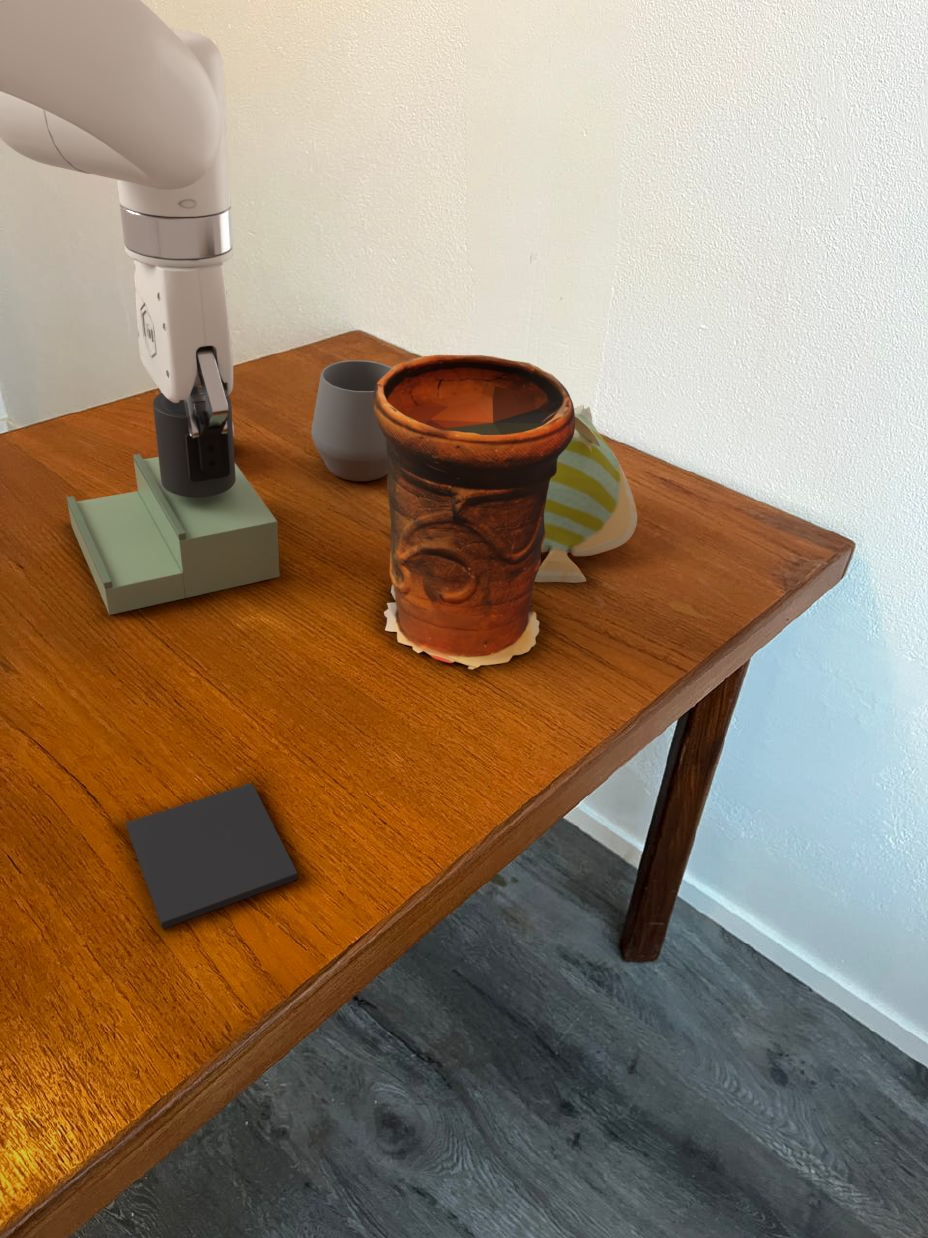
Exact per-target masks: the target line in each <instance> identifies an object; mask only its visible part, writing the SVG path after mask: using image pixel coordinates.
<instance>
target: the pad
mask: <svg viewBox="0 0 928 1238" xmlns="http://www.w3.org/2000/svg"><path fill="white" fill-rule="evenodd" d="M125 826H126V830H127V833H128V836H129V838H130V841H131V844H132V848H133V850H134V853H135V856H136V859H137V862H138V864H139V867H140V870H141V873H142V875H143V879H144V881H145V885H146V886H147V889H148V893H149V895H150V898H151V901H152V904H153V907H154V909H155V912H156V916H157V918H158V920H159V923H160V926H161V929H162V930H164V929H167V928H170V927H172V926H175V925H178V924H181V923H184V922H186V921H188V920H191V919H194V918H197V917H199V916H203V915H205V914H207V913H210V912H214V911H216V910H219V909H222V908H223V907H227V906H230V905H233V904H235V903H238V902H240V901H242V900H247V899H248V898H251V897H253V896H256V895H260V894H262V893H265V892H267V891H270V890H273V889H275V888H279V887H280V886H281V887H282V886H283V885H286V884H289V883H292V882H294V881H297V880H298V879H299V877H298V876H299V875H298V874H299V872H298V870H297V869H296V867H295V864H294V863H293V861H292V859H291V857H290V855H289V853H288V851H287V849H286V847H285V844H284V843H283V841H282V839H281V837H280V834H279V832H278V831H277V828H276V827H275V825H274V823H273V821H272V819H271V817H270V815H269V813H268V811H267V809H266V807H265V805H264V803H263V801H262V799H261V797H260V795H259V793H258V791H257V789H256V787H255V785H254V783H253V782H250V783H246V784H244V785H240V786H238V787H234V788H232V789H228V790H225V791H222V792H218V793H215V794H212V795H209V796H206V797H202V798H200V799H197V800H193V801H190V802H187V803H184V804H181V805H177V806H175V807H172V808H171V807H170V808H169V809H165V810H162V811H159V812H155V813H153V814H150V815H146V816H143V817H140V818H136V819H134V820H130V821H127V822H126V823H125Z"/></svg>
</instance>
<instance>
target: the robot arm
mask: <svg viewBox="0 0 928 1238" xmlns="http://www.w3.org/2000/svg"><path fill="white" fill-rule="evenodd" d="M225 88H226V87H225V71H224V62H223V58H222V55H221V51H220V50H219V48H218V46H217V45H216V43H215V42H214V41H213V40H212V39H210V37H207V36H205V35H203V34H200V33H198V32H193V31H190V30H189V31H188V30H183V29H177V28H176V29H175V28H171V27H169V26H168V25H167V24H166V23H165V22H164V21H163V20H162V19H161V18H160V17H159V16H158V15H157V14H156V13H155V12H154V11H153V10H152V9H151V8H150V7H149V6H148V5H147V4H145V3H144V2H143V1H142V0H0V140H1V141H2V142H3V143H4V144H5V145H6V146H7V147H9V148H11V149H12V150H13V151H15V153H18V154H20V155H22V156H23V157H25V158H28V159H30V160H32V161H35V162H37V163H41V164H42V165H43V164H44V165H47V166H51V167H55V168H59V169H60V168H61V169H65V170H70V171H73V172H78V173H82V174H87V175H95V176H99V177H103V178H109V179H113V180H116V184H117V191H118V201H119V211H120V219H121V227H122V235H123V236H122V237H123V244H124V251H125V255H126V256H127V257H128V258H129V259H131V260H133V275H134V294H135V295H134V296H135V309H136V325H137V340H138V350H139V351H138V352H139V358H140V361H141V364H142V365H143V367H144V369H145V370H146V372H147V373H148V375H149V376H150V378H151V379H152V381H153V382H154V383H155V385H156V386H157V388H158V390H159V391H160V393H163V394H164V396H165V397H166V398H167V399H168V400H170V401H171V402H173V403H179V402H180V400H183V401H184V407H185V412H186V418H187V423H188V429H189V433H185V443H186V454H187V465H188V476H189V478H190V479H191V481H193V482H199V481H205V480H211V479H217V478H223V477H227V476H229V474H230V463H229V447H228V425H227V419H228V418H227V416H228V414H229V408H228V403H227V400H226V397H227V396H230V395H231V393H232V392H233V389H234V356H233V342H232V330H231V321H230V313H229V312H230V311H229V302H228V301H229V300H228V290H227V286H226V278H225V270H224V262H227V261H228V260H230V259H231V258H233V256H234V243H233V242H234V241H233V224H232V223H233V222H232V205H231V203H232V202H231V186H230V185H231V184H230V183H231V182H230V166H229V147H228V146H229V145H228V126H227V108H226V106H227V105H226V89H225ZM193 387H202V390H203V393H202V394H194V395H191V391H192V389H193ZM200 402H206V406H205V411H201V412H200V414H199V416H198V419H197V415H196V409H195V404H194V403H200Z"/></svg>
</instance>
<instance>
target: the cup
mask: <svg viewBox="0 0 928 1238" xmlns="http://www.w3.org/2000/svg"><path fill="white" fill-rule="evenodd" d="M391 367H392V366H390V365H387V364H384V363H381V362H378V361H373V360H367V359H366V360H365V359H364V360H363V359H351V360H350V359H349V360H341V361H337V362H334V363H330V364H329V365H327V366H326V367H324V368H322V370H321V373H320V377H319V383H318V389H317V395H316V401H315V407H314V412H313V418H312V424H311V431H310V433H311V439H312V441H313V444H314V446H315V448H316V450H317V452H318V453H319V456H320V458H321V459H322V461H323V462H324V465H325V466H326V467H327V469H328V471H330V472H331V473H332V474H333V475H334V476H335V477H338V478H341V479H343V480H345V481H351V482H352V481H353V482H369V481H370V482H371V481H375V480H376V481H377V480H379V479H381V478H384V477H385V476H387V475H388V461H387V451H386V438H385V437H384V435H383V433H382V431H381V429H380V427H379V426H378V423H377V420H376V417H375V413H374V408H373V395H374V391H375V386H376V384H377V380H379V379H380V378H381V377H382V376H383V375H385V374H386V373H387V372H388V371H389V370H390V369H391Z"/></svg>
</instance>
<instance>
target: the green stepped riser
mask: <svg viewBox="0 0 928 1238" xmlns="http://www.w3.org/2000/svg"><path fill="white" fill-rule="evenodd" d="M132 457H133V465H134V466H133V467H134V473H135V481H136V487H137V490H136V491H131V492H125V493H118V494H113V495H108V496H101V497H97V498H89V499H84V500H79V501H77V500H76V498H75V496H74V495H71V496H67V497H66V503H67V508H68V513H69V519H70V523H71V528H72V531H73V533H74V535H75V538H76V540H77V543H78V545H79V547H80V549H81V552H82V554H83V556H84V559H85V561H86V563H87V566H88V569H89V571H90V573H91V576H92V577H93V580H94V582H95V585H96V587H97V589H98V591H99V594H100V596H101V599H102V601H103V603H104V606H105V608H106V610H107V613H108V615H109V616H112V615H117V614H121V613H125V612H129V611H135V610H138V609H142V608H147V607H152V606H156V605H161V604H165V603H169V602H174V601H177V600H183V599H187V598H191V597H197V596H201V595H205V594H209V593H214V592H219V591H222V590H223V591H224V590H228V589H232V588H237V587H241V586H245V585H249V584H254V583H258V582H263V581H267V580H272V579H276V578H280V556H279V555H280V554H279V553H280V552H279V529H278V519H276V517H275V516H274V515H273V513H272V511H270V509H269V508H268V506H267V505H266V503H265V502H264V501H263V499H262V498H261V497H260V495H259V494H258V493H257V491H256V490H255V488H254V487H253V486H252V484H251V483H250V482H249V480H248V479H247V478H246V476H245V474H244V473H243V471H242V470H241V469H240V468H239V466H238V465H237V464H236V463H235V476H236V481H235V483H234V485H233V486H232V487H231V488H230V489H229V490H227V491H225V492H223V493H221V494H218V495H215V496H210V497H201V498H192V497H184V496H179V495H176V494H173V493H171V492H169V491H167V490H166V489H165V488H164V487H163V485H162V483H161V475H160V466H159V457H158V456H156V457H150V458H149V457H148V458H144V459H143V457H142V455H141V454H140V453H136V454H133V455H132Z"/></svg>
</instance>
